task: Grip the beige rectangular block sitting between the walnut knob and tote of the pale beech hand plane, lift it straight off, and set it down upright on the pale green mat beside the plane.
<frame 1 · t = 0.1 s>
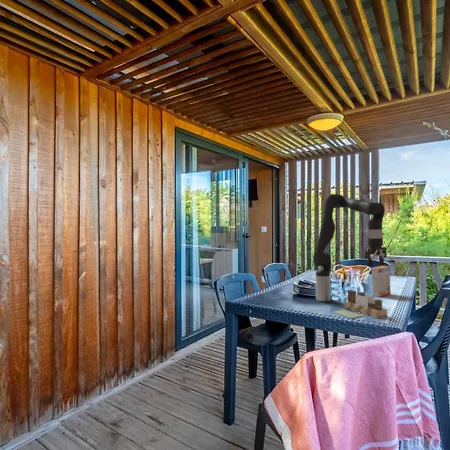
hand: (376, 265, 179), 29 cm above the table, fingers open, 8 cm apart
cracker box: (381, 295, 229), on the table
beige rectangular block: (364, 305, 188), point 4 cm above the table, touching plane body
mat: (347, 314, 184), on the table
plane body: (364, 312, 188), on the table
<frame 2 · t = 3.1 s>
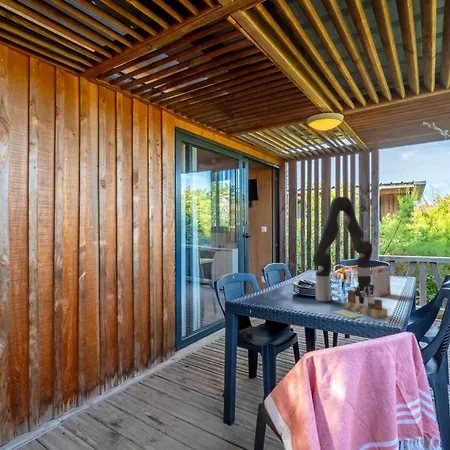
hand: (364, 302, 188), 6 cm above the table, fingers closed on beige rectangular block, 5 cm apart
beige rectangular block: (364, 305, 188), point 4 cm above the table, touching gripper, plane body
everything else where it was.
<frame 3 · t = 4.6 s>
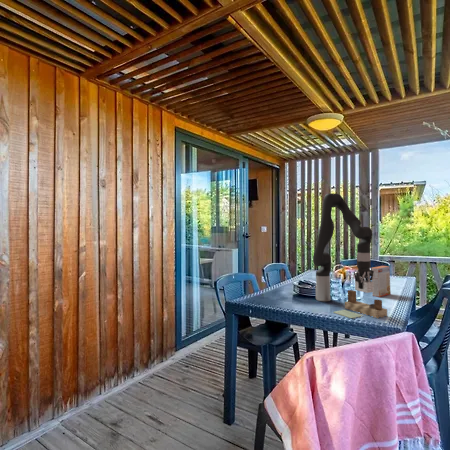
hand: (364, 288, 188), 14 cm above the table, fingers closed on beige rectangular block, 5 cm apart
beige rectangular block: (364, 290, 188), point 13 cm above the table, touching gripper
everything else where it was.
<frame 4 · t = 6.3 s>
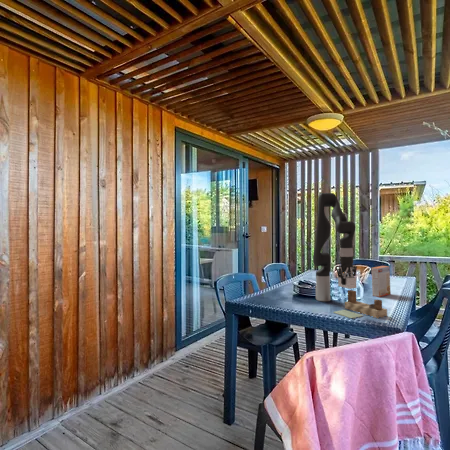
hand: (347, 284, 184), 18 cm above the table, fingers closed on beige rectangular block, 5 cm apart
beige rectangular block: (347, 286, 184), point 16 cm above the table, touching gripper
everything else where it was.
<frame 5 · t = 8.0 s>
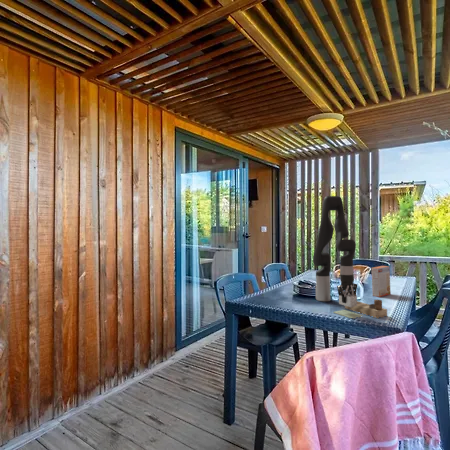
hand: (347, 302, 184), 7 cm above the table, fingers closed on beige rectangular block, 5 cm apart
beige rectangular block: (347, 304, 184), point 6 cm above the table, touching gripper
everything else where it was.
when the fingers open (4 cm above the table, at t = 9.6 s): beige rectangular block drops 2 cm, resting on mat.
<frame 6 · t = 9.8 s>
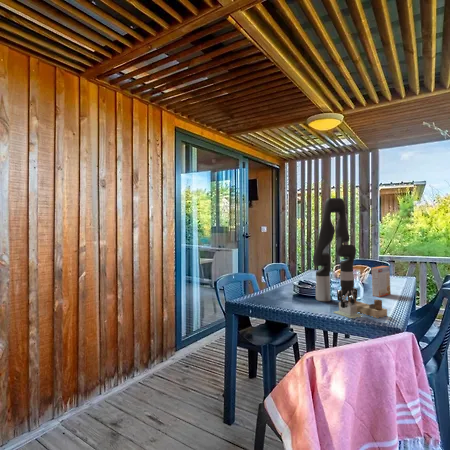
hand: (347, 306, 184), 5 cm above the table, fingers open, 6 cm apart
beige rectangular block: (347, 313, 184), point 1 cm above the table, touching mat
everything else where it was.
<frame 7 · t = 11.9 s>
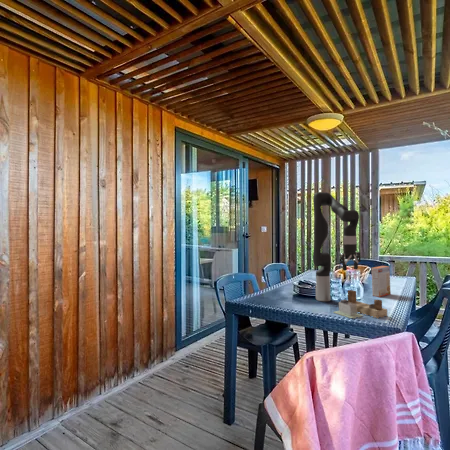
hand: (350, 269, 190), 25 cm above the table, fingers open, 8 cm apart
nothing on the table moved.
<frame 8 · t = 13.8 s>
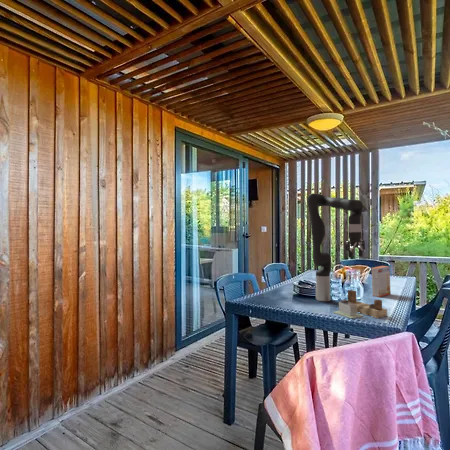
hand: (355, 257, 198), 32 cm above the table, fingers open, 8 cm apart
nothing on the table moved.
at the end: beige rectangular block inside the target area on the mat (0.0 cm from its centre), point 0.6 cm above the mat's base; beige rectangular block tilted 0°; the gripper is holding nothing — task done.
